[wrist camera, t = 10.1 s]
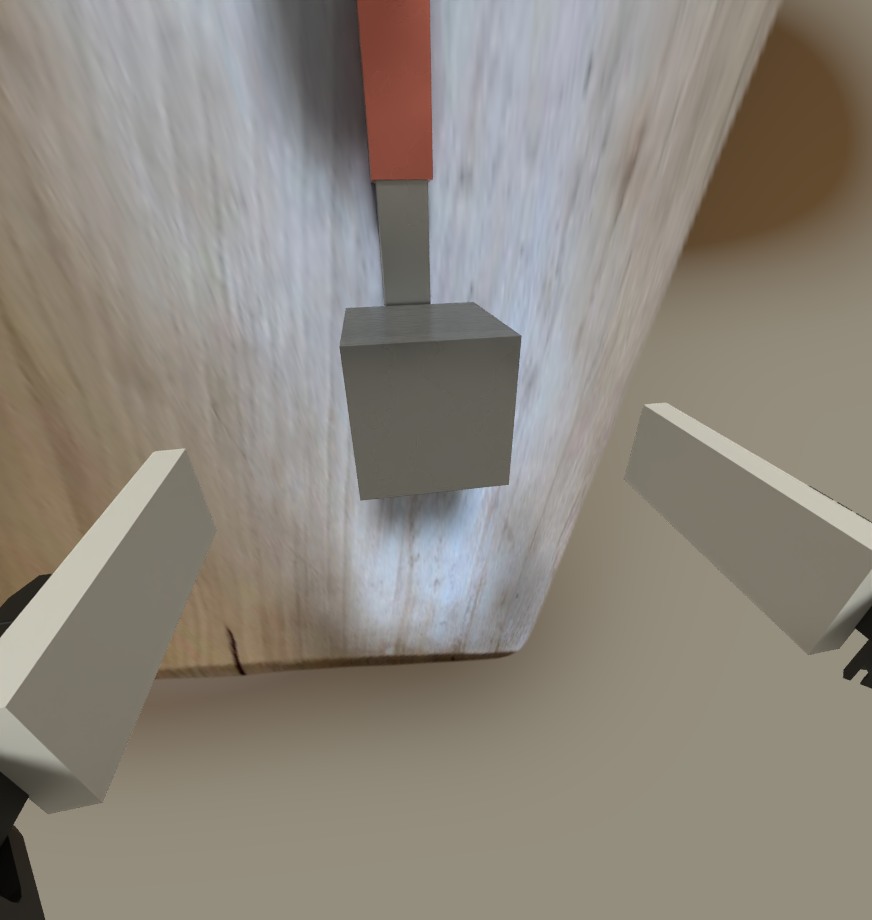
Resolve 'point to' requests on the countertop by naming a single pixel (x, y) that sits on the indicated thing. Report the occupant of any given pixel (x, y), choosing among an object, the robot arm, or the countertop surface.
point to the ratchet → (399, 139)
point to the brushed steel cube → (429, 397)
